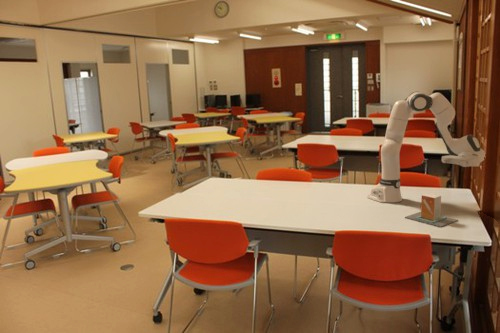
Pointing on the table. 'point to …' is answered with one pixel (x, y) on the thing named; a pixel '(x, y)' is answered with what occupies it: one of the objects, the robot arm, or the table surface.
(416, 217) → the plate
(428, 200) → the small box
